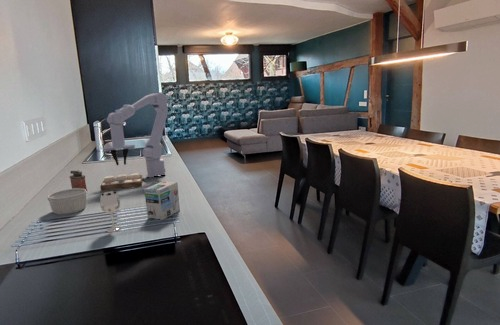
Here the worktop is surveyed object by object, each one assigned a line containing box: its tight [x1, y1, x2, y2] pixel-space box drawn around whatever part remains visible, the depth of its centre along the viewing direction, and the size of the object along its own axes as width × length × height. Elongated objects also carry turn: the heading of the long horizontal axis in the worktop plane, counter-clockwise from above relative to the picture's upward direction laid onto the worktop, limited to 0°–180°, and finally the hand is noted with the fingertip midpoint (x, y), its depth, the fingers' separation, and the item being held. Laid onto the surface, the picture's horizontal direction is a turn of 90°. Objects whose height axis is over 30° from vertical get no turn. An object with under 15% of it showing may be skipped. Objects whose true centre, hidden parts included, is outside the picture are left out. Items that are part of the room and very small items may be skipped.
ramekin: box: [47, 188, 88, 216], centre depth 130 cm, size 13×13×7 cm
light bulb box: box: [143, 180, 181, 221], centre depth 119 cm, size 11×7×11 cm, turn 157°
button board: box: [99, 174, 144, 192], centre depth 164 cm, size 18×15×2 cm
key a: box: [129, 172, 141, 180], centre depth 167 cm, size 4×4×3 cm
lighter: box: [69, 170, 88, 192], centre depth 157 cm, size 8×3×10 cm, turn 71°
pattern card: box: [101, 179, 140, 185], centre depth 160 cm, size 17×4×1 cm, turn 106°
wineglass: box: [99, 190, 122, 233], centre depth 107 cm, size 6×6×12 cm
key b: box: [117, 173, 128, 181], centre depth 166 cm, size 4×4×3 cm
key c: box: [103, 175, 115, 182], centre depth 164 cm, size 4×4×3 cm
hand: (121, 164), depth 167 cm, fingers open, 3 cm apart
